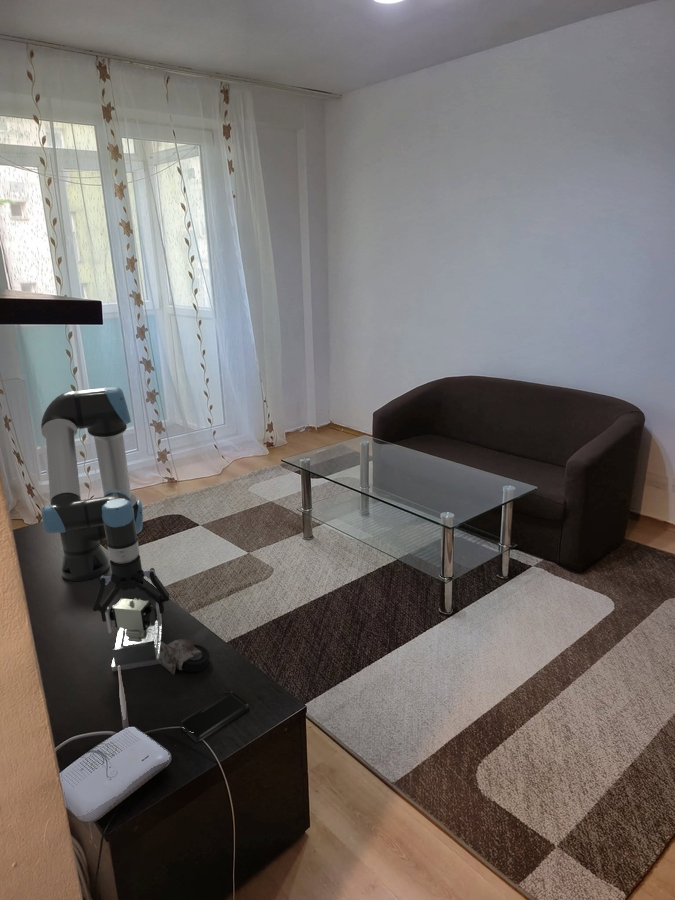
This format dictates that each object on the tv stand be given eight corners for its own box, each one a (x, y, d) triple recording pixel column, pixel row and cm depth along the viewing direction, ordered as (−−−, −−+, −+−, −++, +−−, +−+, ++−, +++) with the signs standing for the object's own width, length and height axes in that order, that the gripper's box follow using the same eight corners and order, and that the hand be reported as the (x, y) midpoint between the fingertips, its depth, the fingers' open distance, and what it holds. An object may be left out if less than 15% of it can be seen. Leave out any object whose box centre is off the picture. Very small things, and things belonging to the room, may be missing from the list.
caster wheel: (213, 669, 166) (184, 686, 158) (185, 647, 171) (155, 662, 163) (217, 649, 163) (188, 665, 155) (189, 627, 169) (159, 641, 161)
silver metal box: (119, 635, 177) (115, 615, 175) (162, 628, 179) (159, 609, 177) (112, 671, 162) (109, 650, 160) (159, 663, 164) (156, 643, 162)
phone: (250, 705, 148) (196, 740, 138) (250, 709, 149) (197, 744, 139) (230, 689, 153) (177, 722, 143) (230, 693, 154) (178, 726, 144)
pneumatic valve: (152, 646, 166) (147, 607, 162) (113, 641, 169) (106, 603, 165) (162, 633, 171) (156, 596, 167) (123, 629, 174) (117, 592, 170)
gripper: (72, 570, 156) (86, 641, 163) (172, 557, 161) (181, 627, 168) (77, 556, 163) (90, 625, 170) (173, 544, 168) (181, 612, 175)
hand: (135, 626), depth 169 cm, fingers closed on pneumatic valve, 12 cm apart
